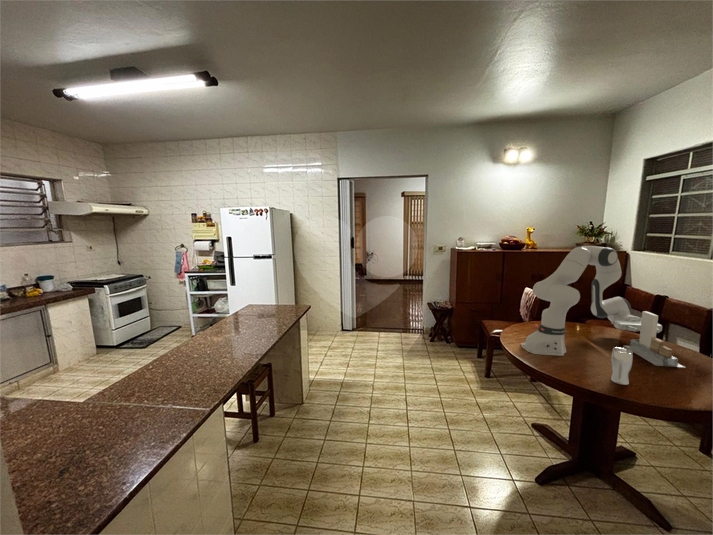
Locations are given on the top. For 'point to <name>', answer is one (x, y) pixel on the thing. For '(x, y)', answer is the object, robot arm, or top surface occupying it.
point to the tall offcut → (656, 344)
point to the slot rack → (652, 355)
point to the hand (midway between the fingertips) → (647, 330)
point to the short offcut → (665, 351)
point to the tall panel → (648, 328)
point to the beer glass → (621, 365)
